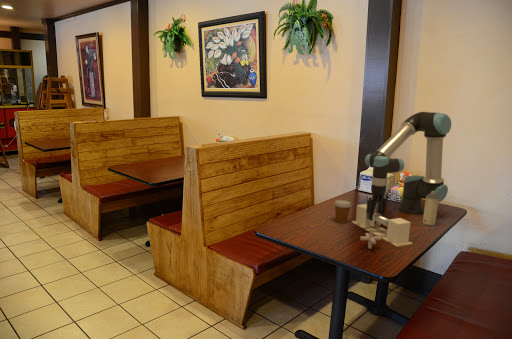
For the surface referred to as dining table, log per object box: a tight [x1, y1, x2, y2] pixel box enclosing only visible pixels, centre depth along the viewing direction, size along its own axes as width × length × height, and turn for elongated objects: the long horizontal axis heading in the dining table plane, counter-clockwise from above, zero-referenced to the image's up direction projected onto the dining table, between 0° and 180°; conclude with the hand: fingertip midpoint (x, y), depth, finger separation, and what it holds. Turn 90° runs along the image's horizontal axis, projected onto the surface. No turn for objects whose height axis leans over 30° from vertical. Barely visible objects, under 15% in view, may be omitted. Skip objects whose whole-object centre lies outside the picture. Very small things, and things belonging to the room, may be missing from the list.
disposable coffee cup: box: [334, 199, 352, 224], centre depth 219 cm, size 10×10×12 cm
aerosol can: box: [422, 191, 439, 227], centre depth 218 cm, size 7×7×20 cm
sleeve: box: [355, 203, 377, 227], centre depth 215 cm, size 8×7×11 cm
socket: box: [386, 217, 412, 244], centre depth 192 cm, size 7×8×11 cm
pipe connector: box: [359, 228, 382, 250], centre depth 184 cm, size 10×10×10 cm
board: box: [350, 220, 413, 248], centre depth 205 cm, size 37×10×1 cm, turn 23°
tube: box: [367, 212, 390, 228], centre depth 207 cm, size 24×4×4 cm, turn 23°
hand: (374, 225), depth 209 cm, fingers closed on tube, 4 cm apart
